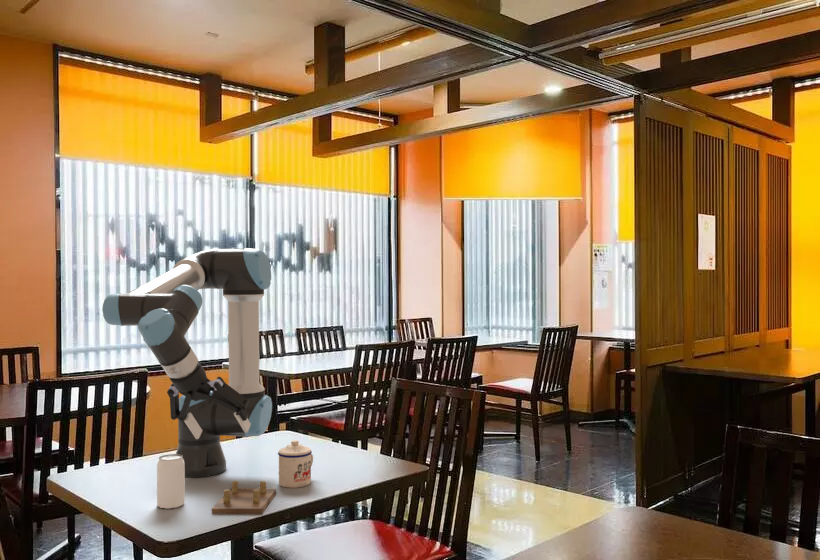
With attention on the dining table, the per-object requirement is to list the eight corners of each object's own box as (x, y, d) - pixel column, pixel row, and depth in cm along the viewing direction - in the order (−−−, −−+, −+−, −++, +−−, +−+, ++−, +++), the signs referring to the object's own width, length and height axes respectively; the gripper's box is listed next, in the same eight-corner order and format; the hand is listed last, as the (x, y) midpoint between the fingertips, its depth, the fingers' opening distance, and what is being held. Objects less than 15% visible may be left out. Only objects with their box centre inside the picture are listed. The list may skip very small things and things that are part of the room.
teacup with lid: (297, 490, 184) (297, 446, 184) (271, 485, 188) (270, 442, 188) (324, 479, 194) (324, 437, 194) (299, 474, 199) (299, 433, 199)
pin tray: (230, 492, 182) (230, 476, 182) (276, 493, 181) (276, 477, 181) (211, 513, 166) (211, 495, 166) (261, 513, 165) (261, 496, 165)
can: (159, 511, 168) (158, 461, 168) (155, 503, 173) (155, 455, 173) (186, 507, 171) (186, 458, 171) (182, 499, 176) (182, 452, 176)
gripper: (130, 387, 160) (173, 449, 172) (226, 372, 154) (264, 437, 165) (144, 365, 167) (185, 426, 178) (237, 350, 160) (273, 414, 171)
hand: (223, 431), depth 172 cm, fingers open, 13 cm apart
